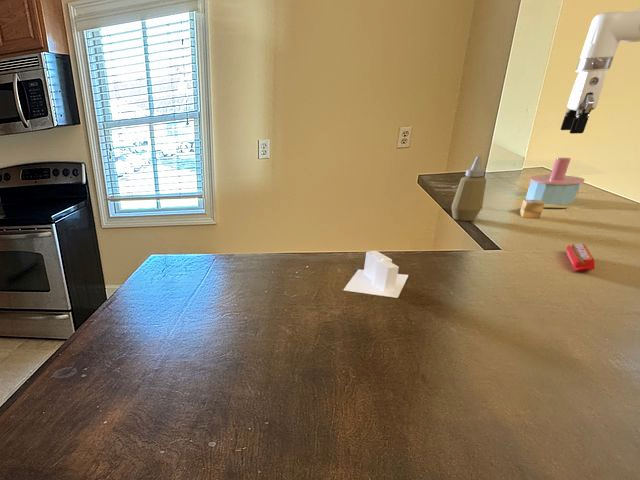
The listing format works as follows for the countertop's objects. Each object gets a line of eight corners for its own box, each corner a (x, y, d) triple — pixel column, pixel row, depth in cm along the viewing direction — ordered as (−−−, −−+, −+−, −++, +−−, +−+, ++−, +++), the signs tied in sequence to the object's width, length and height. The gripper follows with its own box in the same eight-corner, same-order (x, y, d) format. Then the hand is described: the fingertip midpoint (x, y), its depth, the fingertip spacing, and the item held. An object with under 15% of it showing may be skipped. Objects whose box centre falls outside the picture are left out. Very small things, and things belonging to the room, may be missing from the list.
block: (536, 214, 146) (541, 199, 144) (539, 218, 143) (544, 203, 141) (519, 214, 148) (523, 199, 146) (522, 217, 144) (526, 202, 142)
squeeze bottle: (443, 216, 151) (457, 155, 142) (470, 215, 151) (485, 153, 142) (456, 223, 144) (472, 159, 135) (484, 221, 144) (501, 157, 135)
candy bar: (563, 252, 117) (567, 240, 115) (582, 253, 115) (586, 241, 113) (572, 273, 105) (577, 260, 103) (593, 275, 103) (599, 262, 102)
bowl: (566, 201, 158) (574, 177, 154) (577, 209, 148) (587, 184, 144) (520, 200, 162) (527, 177, 158) (528, 208, 152) (536, 184, 149)
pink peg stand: (575, 178, 154) (584, 154, 151) (589, 187, 144) (598, 161, 140) (524, 178, 159) (531, 155, 156) (534, 186, 149) (541, 162, 145)
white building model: (357, 269, 116) (360, 246, 113) (408, 274, 111) (413, 250, 108) (342, 290, 105) (346, 265, 102) (398, 298, 100) (404, 271, 97)
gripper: (621, 64, 128) (596, 134, 136) (600, 64, 141) (577, 128, 150) (587, 66, 130) (564, 135, 139) (568, 66, 144) (548, 129, 152)
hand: (571, 131), depth 144 cm, fingers open, 9 cm apart
